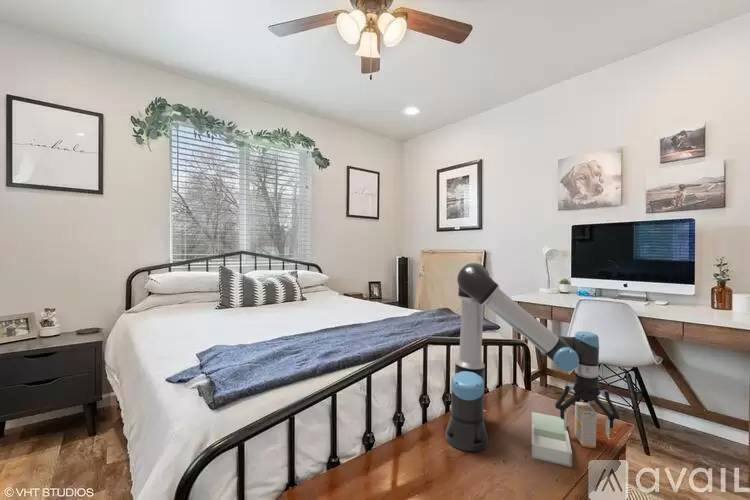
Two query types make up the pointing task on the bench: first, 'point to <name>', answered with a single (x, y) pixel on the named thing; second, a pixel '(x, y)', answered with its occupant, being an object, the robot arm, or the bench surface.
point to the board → (548, 426)
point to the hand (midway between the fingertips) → (585, 431)
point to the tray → (552, 449)
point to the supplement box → (585, 424)
